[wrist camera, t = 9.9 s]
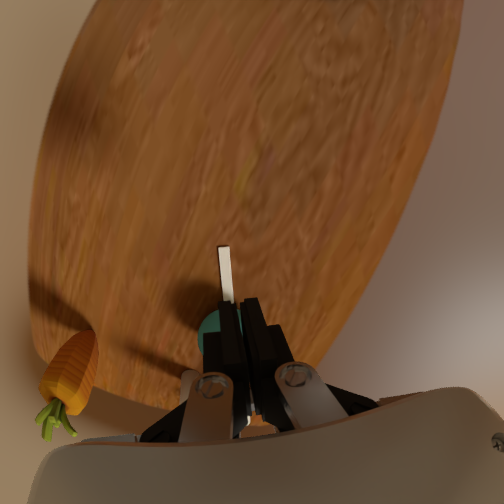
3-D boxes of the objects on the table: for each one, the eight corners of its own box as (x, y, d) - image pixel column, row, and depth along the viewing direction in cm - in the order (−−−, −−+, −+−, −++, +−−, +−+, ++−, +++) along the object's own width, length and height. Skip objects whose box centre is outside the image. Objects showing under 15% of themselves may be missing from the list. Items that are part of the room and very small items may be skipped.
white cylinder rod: (179, 370, 31) (176, 430, 23) (199, 369, 31) (200, 429, 23) (183, 383, 32) (181, 442, 24) (202, 382, 32) (204, 441, 24)
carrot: (94, 306, 27) (38, 411, 13) (120, 340, 29) (85, 450, 15) (66, 321, 27) (10, 417, 13) (91, 353, 29) (52, 452, 15)
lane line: (218, 247, 27) (218, 247, 26) (229, 246, 27) (229, 246, 26) (226, 327, 30) (226, 328, 30) (235, 326, 30) (236, 327, 30)
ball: (202, 369, 28) (200, 315, 30) (259, 367, 28) (255, 313, 31) (194, 369, 23) (192, 302, 25) (264, 367, 23) (260, 300, 25)
